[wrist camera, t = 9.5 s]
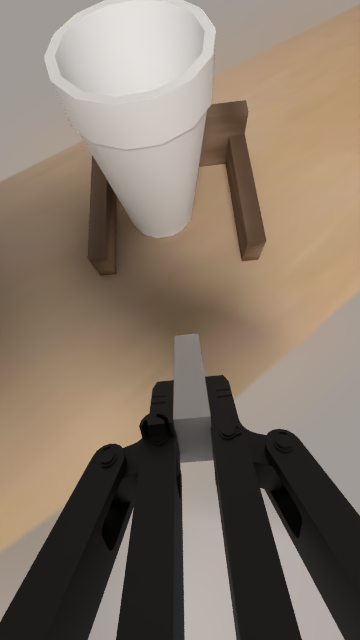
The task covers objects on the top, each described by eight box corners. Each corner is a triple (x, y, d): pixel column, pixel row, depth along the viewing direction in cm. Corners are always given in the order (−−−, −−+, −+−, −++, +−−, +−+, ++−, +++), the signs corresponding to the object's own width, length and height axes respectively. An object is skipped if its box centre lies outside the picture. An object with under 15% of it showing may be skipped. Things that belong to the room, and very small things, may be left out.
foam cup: (125, 174, 28) (68, -4, 16) (210, 176, 27) (220, -10, 15) (109, 249, 25) (24, 105, 13) (202, 254, 24) (207, 105, 12)
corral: (100, 275, 24) (77, 245, 20) (103, 167, 29) (84, 120, 24) (258, 259, 24) (273, 224, 19) (237, 151, 28) (245, 100, 23)
